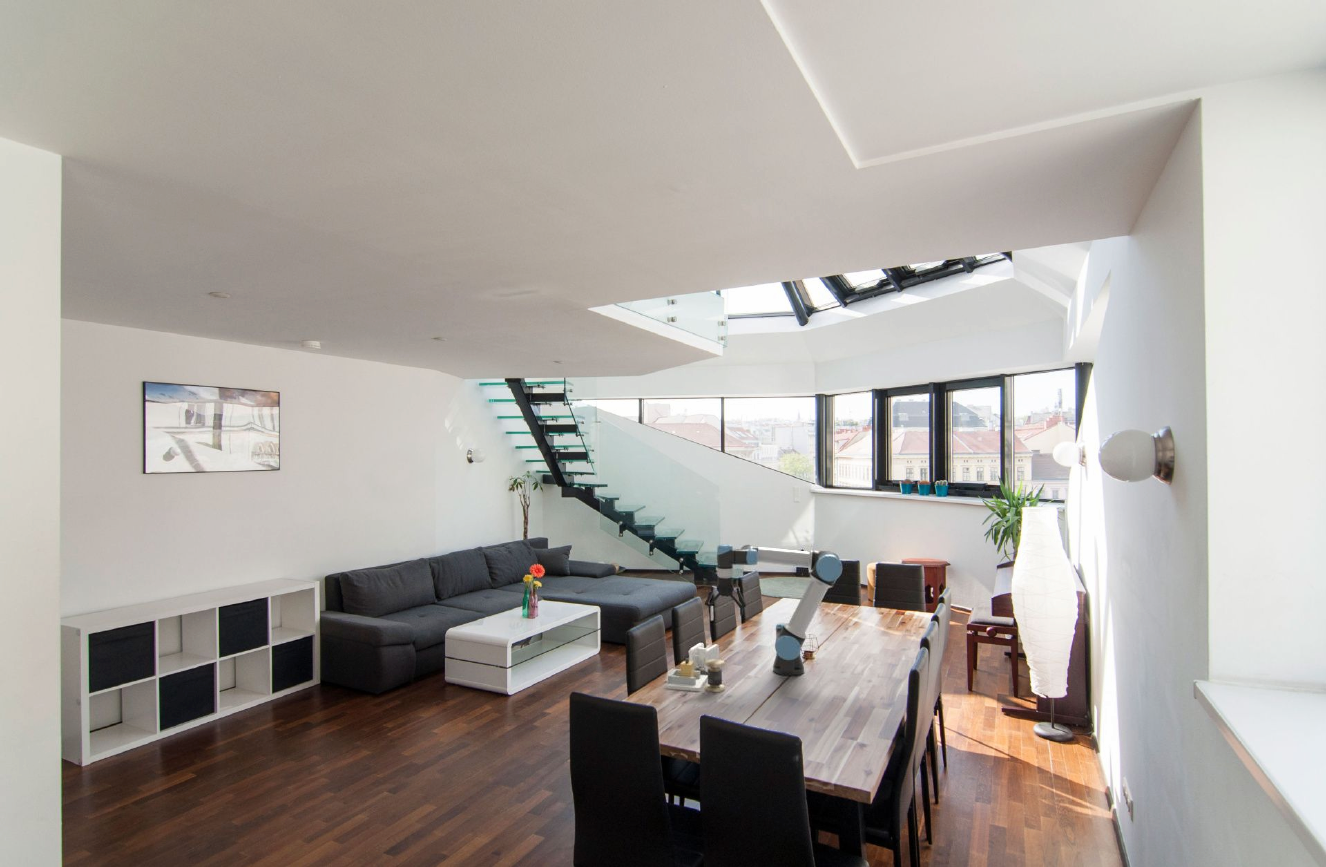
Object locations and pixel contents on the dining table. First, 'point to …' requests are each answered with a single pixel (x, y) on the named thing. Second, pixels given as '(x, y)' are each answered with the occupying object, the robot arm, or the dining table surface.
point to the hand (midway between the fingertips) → (725, 620)
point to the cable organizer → (703, 655)
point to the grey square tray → (686, 681)
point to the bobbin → (714, 676)
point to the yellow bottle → (687, 668)
